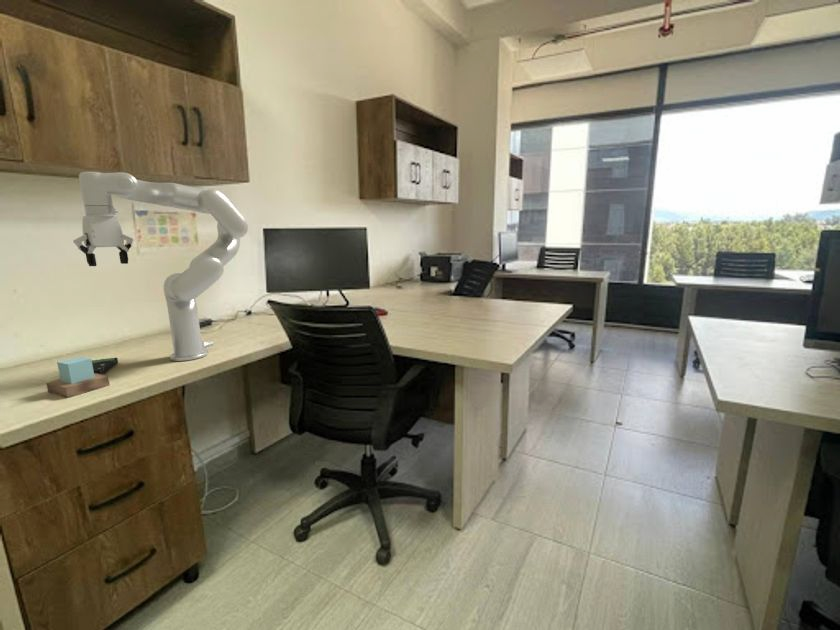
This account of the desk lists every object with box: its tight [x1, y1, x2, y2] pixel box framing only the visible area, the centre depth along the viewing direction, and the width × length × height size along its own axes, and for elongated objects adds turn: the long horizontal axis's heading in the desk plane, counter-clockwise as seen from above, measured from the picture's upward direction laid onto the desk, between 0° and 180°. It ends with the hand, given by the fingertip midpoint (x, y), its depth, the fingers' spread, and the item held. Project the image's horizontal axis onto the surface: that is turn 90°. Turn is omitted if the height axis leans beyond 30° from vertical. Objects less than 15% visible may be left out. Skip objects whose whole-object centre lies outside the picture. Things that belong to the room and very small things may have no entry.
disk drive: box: [91, 357, 119, 375], centre depth 143 cm, size 10×3×15 cm
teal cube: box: [56, 356, 95, 384], centre depth 125 cm, size 6×6×6 cm
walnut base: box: [46, 373, 110, 399], centre depth 126 cm, size 11×11×3 cm
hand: (109, 264), depth 138 cm, fingers open, 9 cm apart
